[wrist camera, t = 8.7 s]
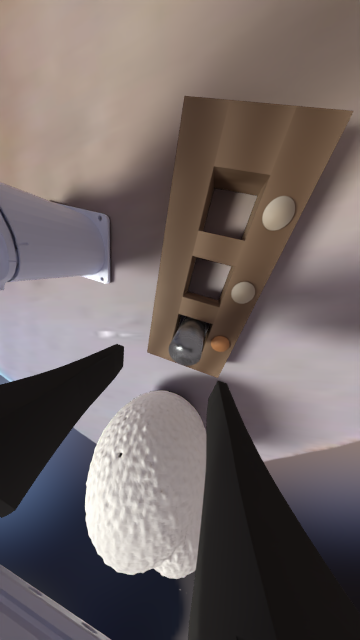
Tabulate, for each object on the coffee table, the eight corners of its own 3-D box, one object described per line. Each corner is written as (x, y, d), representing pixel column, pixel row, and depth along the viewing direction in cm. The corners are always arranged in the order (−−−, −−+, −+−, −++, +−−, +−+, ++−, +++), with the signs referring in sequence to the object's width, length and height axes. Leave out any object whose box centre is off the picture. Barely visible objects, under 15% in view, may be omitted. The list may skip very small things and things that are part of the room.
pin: (182, 328, 19) (166, 360, 12) (186, 309, 17) (170, 333, 11) (203, 333, 18) (197, 369, 12) (208, 314, 17) (205, 342, 11)
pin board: (155, 340, 21) (146, 353, 18) (191, 136, 11) (183, 92, 8) (217, 362, 19) (217, 379, 17) (316, 152, 10) (356, 107, 7)
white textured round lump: (146, 347, 22) (17, 503, 8) (245, 395, 21) (315, 687, 6) (127, 409, 31) (50, 534, 16) (195, 445, 30) (177, 613, 15)
